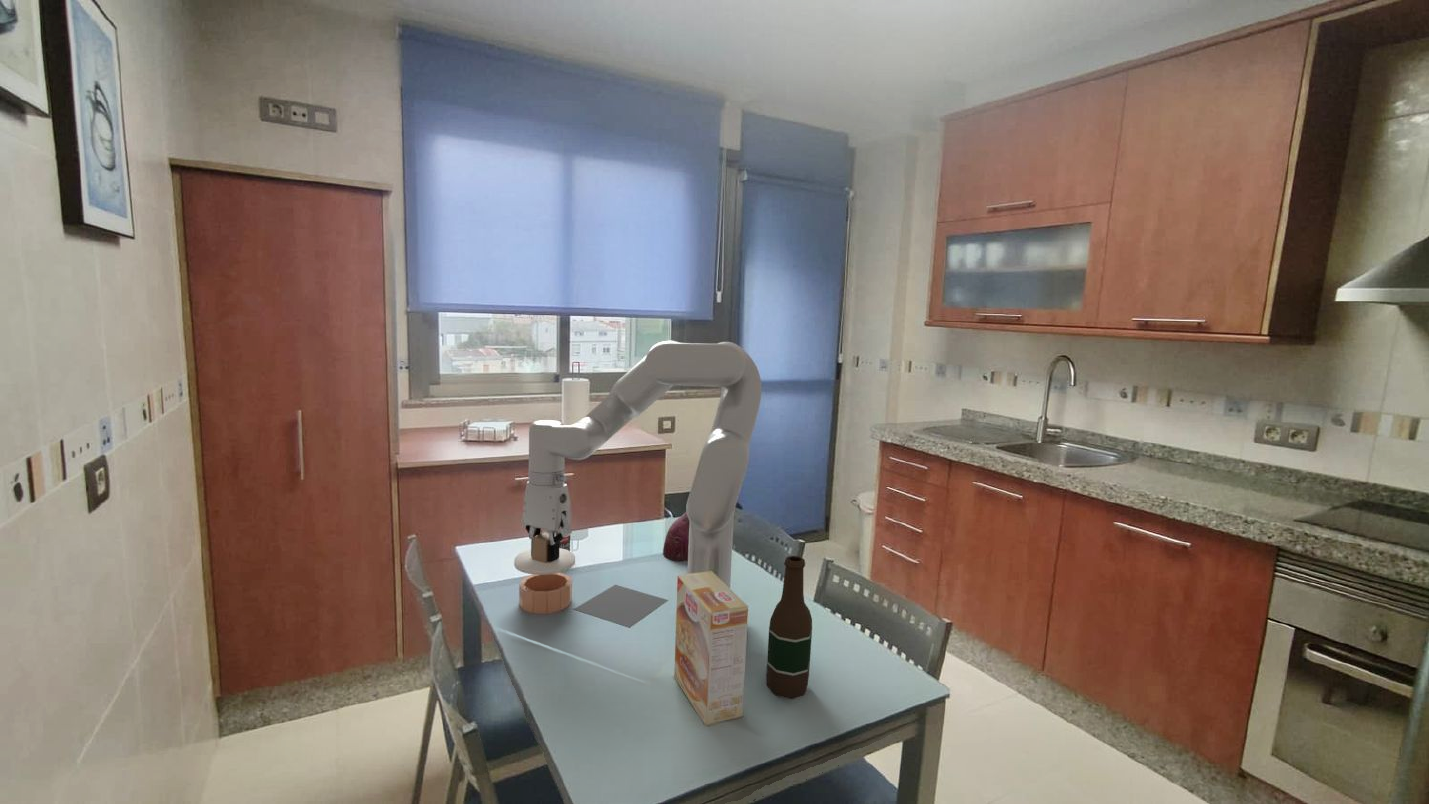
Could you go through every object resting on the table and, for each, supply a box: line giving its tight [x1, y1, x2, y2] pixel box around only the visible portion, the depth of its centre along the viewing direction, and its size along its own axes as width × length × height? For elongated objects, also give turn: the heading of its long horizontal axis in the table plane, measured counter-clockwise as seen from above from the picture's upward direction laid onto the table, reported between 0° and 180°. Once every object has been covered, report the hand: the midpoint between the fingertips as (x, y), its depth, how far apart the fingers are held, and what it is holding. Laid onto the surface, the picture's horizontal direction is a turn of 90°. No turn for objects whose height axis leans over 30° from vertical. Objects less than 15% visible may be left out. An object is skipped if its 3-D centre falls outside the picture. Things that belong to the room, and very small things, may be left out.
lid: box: [513, 532, 576, 575], centre depth 137 cm, size 13×13×6 cm
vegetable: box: [662, 511, 690, 563], centre depth 170 cm, size 10×10×15 cm
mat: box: [573, 584, 669, 629], centre depth 139 cm, size 15×15×1 cm
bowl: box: [518, 572, 573, 615], centre depth 138 cm, size 11×11×5 cm
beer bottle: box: [765, 555, 813, 699], centre depth 109 cm, size 8×8×24 cm
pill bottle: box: [554, 528, 571, 551], centre depth 163 cm, size 6×6×10 cm
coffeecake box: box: [673, 571, 749, 726], centre depth 106 cm, size 15×7×20 cm, turn 24°
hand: (545, 556), depth 137 cm, fingers closed on lid, 4 cm apart
